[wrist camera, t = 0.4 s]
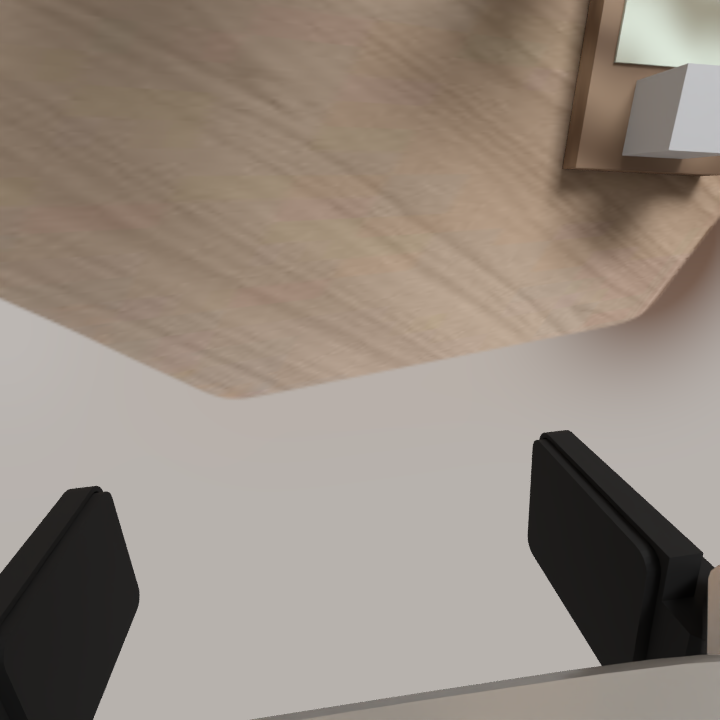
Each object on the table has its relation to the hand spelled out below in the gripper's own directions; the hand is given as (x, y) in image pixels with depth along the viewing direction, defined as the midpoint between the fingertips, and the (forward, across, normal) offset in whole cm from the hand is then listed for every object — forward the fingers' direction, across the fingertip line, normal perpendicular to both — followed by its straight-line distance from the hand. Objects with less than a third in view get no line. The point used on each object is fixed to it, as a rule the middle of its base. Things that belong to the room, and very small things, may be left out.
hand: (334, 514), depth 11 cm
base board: (+30, -27, -14) cm, 43 cm away
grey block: (+28, -27, -10) cm, 40 cm away
